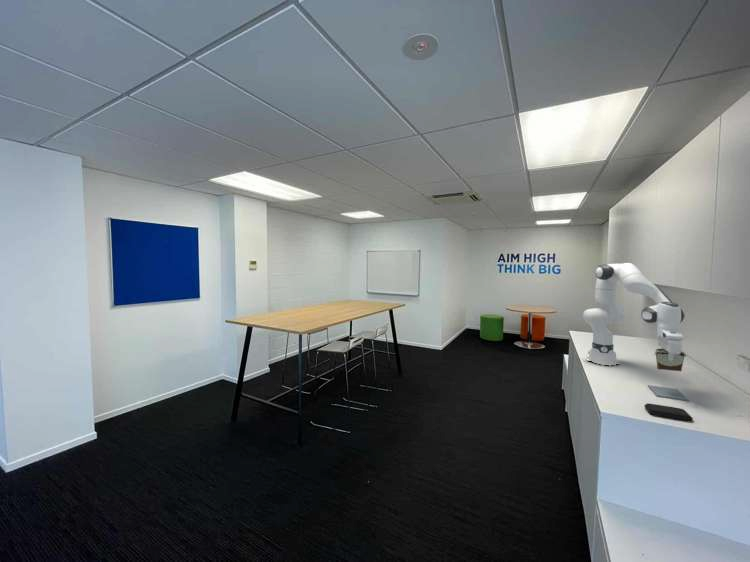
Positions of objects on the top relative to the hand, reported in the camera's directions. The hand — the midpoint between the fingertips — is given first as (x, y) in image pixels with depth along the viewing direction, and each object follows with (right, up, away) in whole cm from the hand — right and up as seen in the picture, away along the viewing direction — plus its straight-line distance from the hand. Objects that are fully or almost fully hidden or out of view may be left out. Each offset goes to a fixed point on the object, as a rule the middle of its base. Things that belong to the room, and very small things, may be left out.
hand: (667, 358), depth 157 cm
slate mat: (0, -19, +1) cm, 19 cm away
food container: (+1, -6, +1) cm, 6 cm away
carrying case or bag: (-21, -21, -21) cm, 36 cm away
